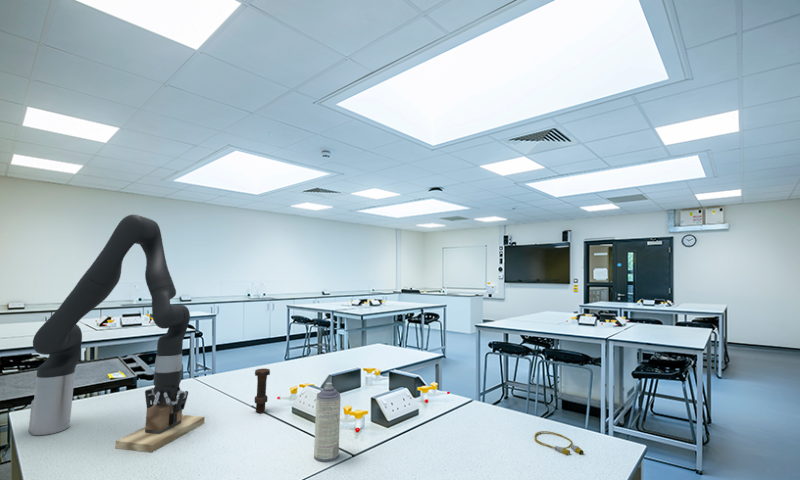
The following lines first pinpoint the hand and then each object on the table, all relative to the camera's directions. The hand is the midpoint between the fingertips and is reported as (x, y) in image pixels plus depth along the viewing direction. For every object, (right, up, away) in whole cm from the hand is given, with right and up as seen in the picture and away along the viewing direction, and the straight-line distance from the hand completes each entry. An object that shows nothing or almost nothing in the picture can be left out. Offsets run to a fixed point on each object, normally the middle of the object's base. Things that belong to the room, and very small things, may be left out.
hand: (164, 423), depth 121 cm
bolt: (+23, -6, +21) cm, 31 cm away
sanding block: (0, -1, 0) cm, 1 cm away
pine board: (0, -3, 0) cm, 3 cm away
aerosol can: (+53, -3, -12) cm, 55 cm away
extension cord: (+123, -6, -1) cm, 123 cm away
